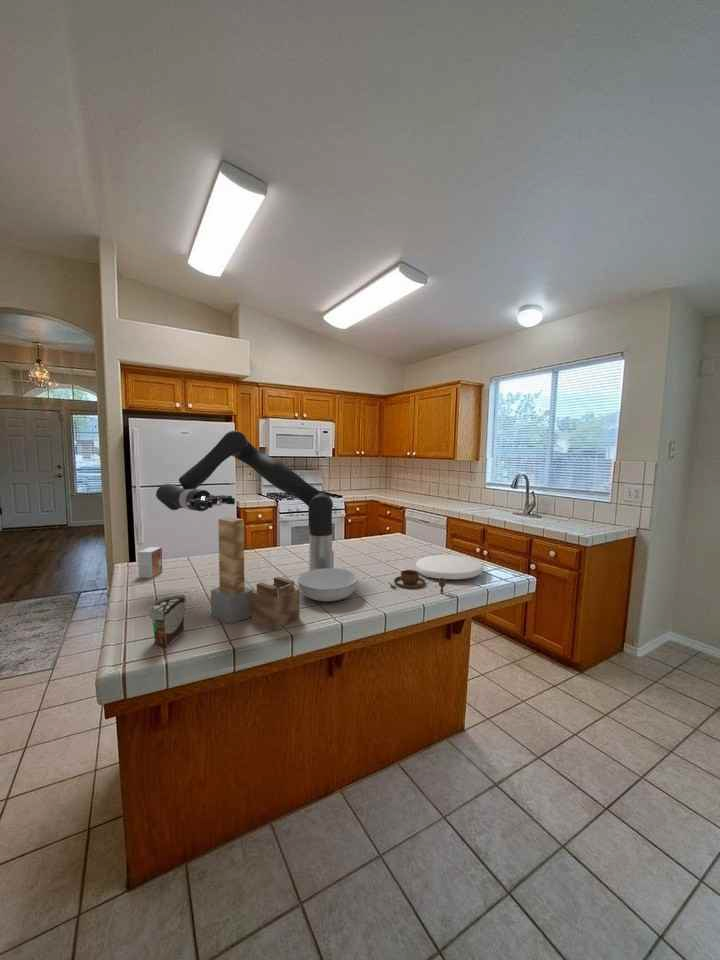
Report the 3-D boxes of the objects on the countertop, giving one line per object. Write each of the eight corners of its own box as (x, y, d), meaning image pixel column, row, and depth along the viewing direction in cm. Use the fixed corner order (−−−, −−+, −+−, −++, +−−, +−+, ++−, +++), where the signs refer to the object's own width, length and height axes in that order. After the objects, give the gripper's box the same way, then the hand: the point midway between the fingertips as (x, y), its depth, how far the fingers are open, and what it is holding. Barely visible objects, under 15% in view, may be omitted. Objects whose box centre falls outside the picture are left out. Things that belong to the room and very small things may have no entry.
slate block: (233, 606, 126) (233, 582, 125) (253, 615, 120) (253, 589, 119) (211, 615, 119) (210, 590, 119) (231, 624, 113) (230, 597, 113)
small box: (152, 578, 152) (151, 552, 151) (138, 578, 152) (137, 551, 151) (163, 571, 160) (162, 547, 159) (149, 571, 160) (148, 546, 159)
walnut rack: (277, 610, 124) (276, 574, 123) (299, 618, 118) (299, 581, 117) (251, 621, 116) (251, 583, 115) (274, 630, 110) (273, 591, 109)
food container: (165, 627, 111) (164, 593, 110) (186, 628, 111) (185, 594, 110) (139, 649, 99) (138, 611, 98) (163, 650, 98) (162, 612, 98)
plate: (416, 570, 151) (413, 552, 178) (417, 586, 152) (414, 566, 178) (489, 566, 148) (475, 548, 175) (490, 582, 149) (476, 562, 175)
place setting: (423, 578, 158) (424, 564, 158) (448, 596, 139) (449, 580, 139) (383, 581, 153) (383, 567, 153) (403, 600, 134) (403, 584, 134)
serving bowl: (292, 589, 142) (292, 571, 141) (346, 583, 149) (346, 565, 149) (305, 612, 123) (305, 591, 122) (366, 603, 130) (367, 583, 130)
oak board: (230, 585, 123) (229, 517, 121) (244, 590, 118) (243, 519, 117) (219, 589, 119) (218, 518, 118) (233, 594, 115) (232, 521, 113)
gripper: (175, 491, 131) (202, 493, 122) (212, 487, 143) (240, 489, 133) (176, 513, 132) (204, 517, 122) (213, 507, 143) (241, 511, 134)
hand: (222, 502), depth 128 cm, fingers open, 8 cm apart
